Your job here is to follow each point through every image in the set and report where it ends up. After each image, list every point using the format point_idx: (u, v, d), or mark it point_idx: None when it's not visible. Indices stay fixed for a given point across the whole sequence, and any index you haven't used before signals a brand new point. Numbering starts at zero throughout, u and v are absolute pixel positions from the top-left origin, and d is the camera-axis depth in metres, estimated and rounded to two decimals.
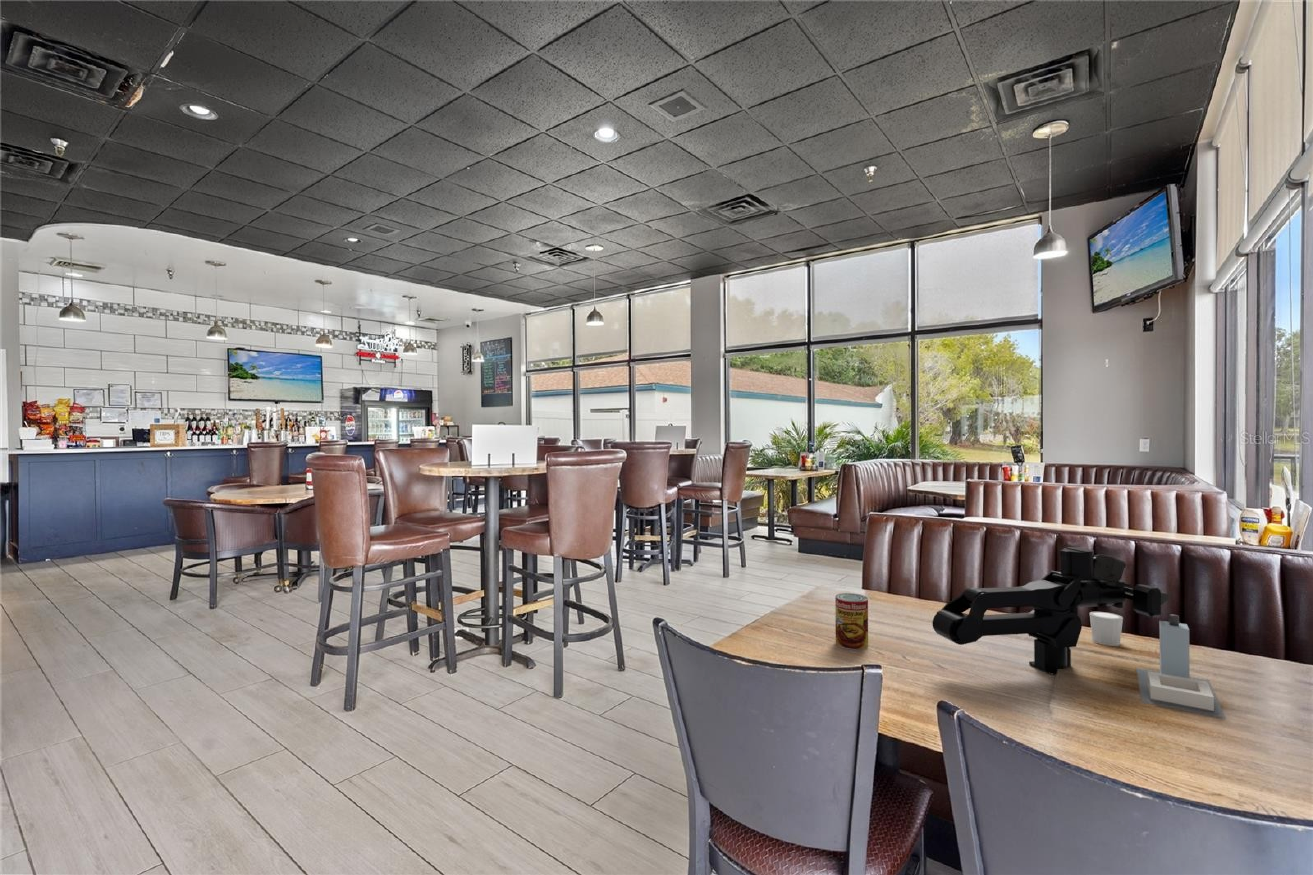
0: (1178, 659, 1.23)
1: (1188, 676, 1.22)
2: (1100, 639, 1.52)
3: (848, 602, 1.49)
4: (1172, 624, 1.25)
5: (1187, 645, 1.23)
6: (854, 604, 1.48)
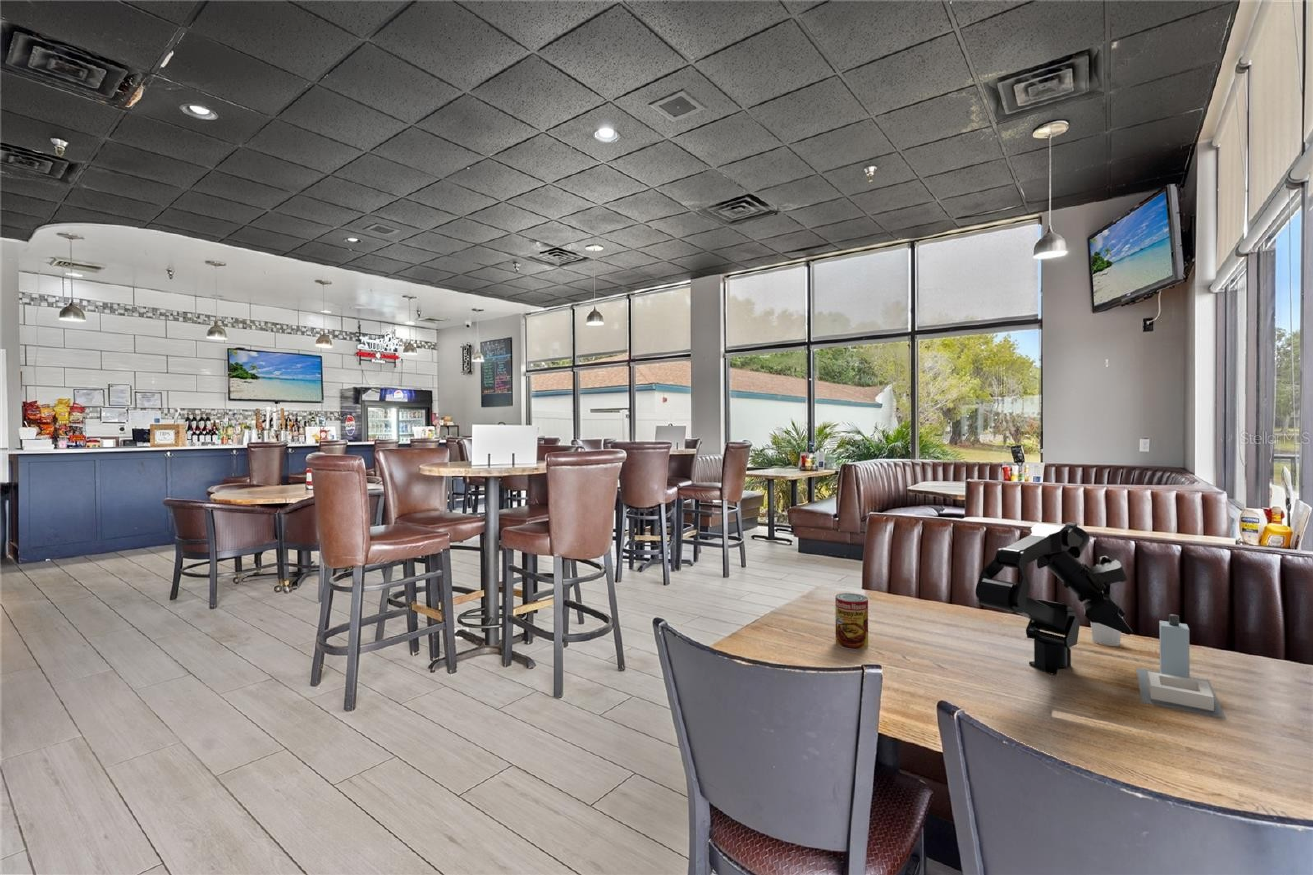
0: (1178, 659, 1.23)
1: (1188, 676, 1.22)
2: (1100, 639, 1.52)
3: (848, 602, 1.49)
4: (1172, 624, 1.25)
5: (1187, 645, 1.23)
6: (854, 604, 1.48)
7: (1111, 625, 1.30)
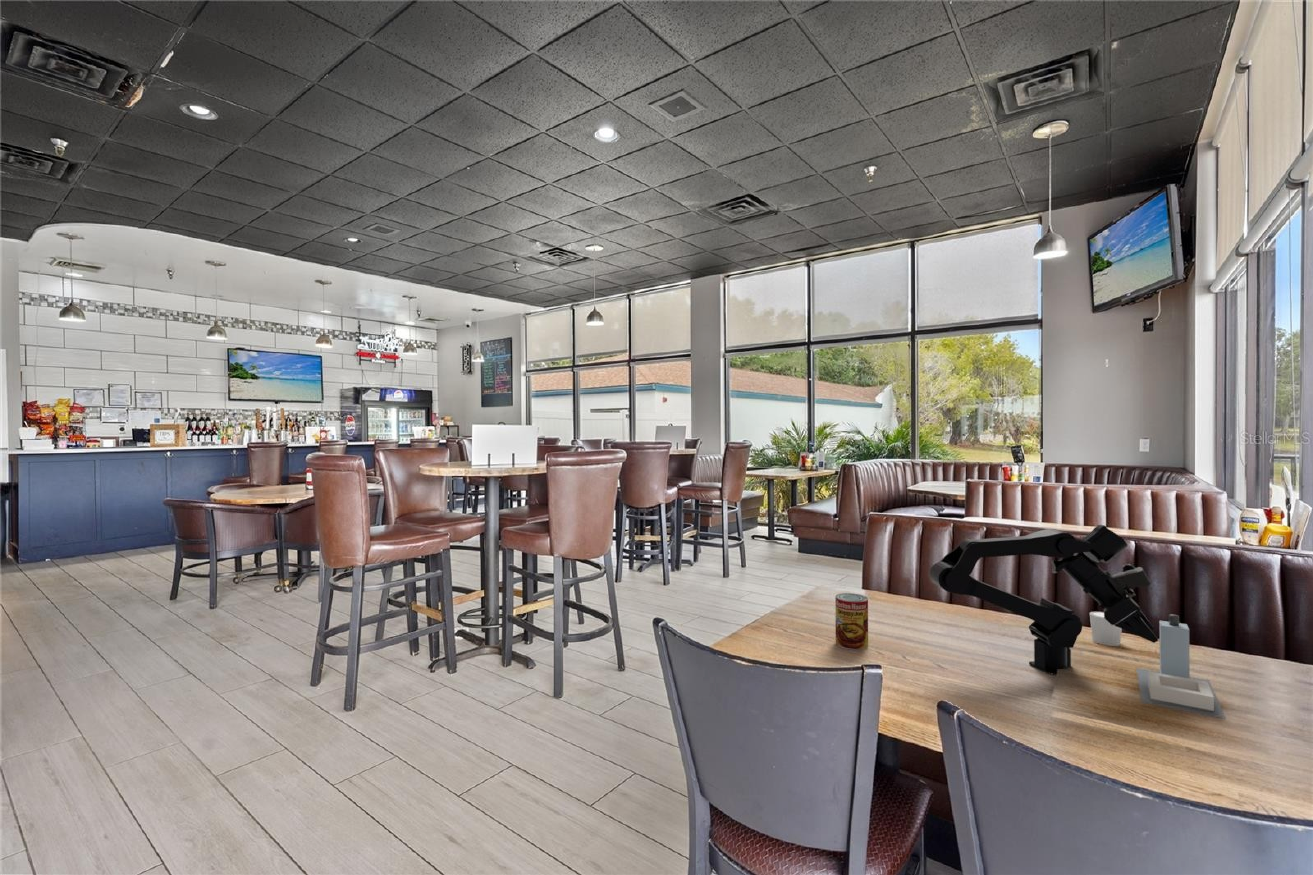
0: (1178, 659, 1.23)
1: (1188, 676, 1.22)
2: (1100, 639, 1.52)
3: (848, 602, 1.49)
4: (1172, 624, 1.25)
5: (1187, 645, 1.23)
6: (854, 604, 1.48)
7: (1134, 631, 1.25)
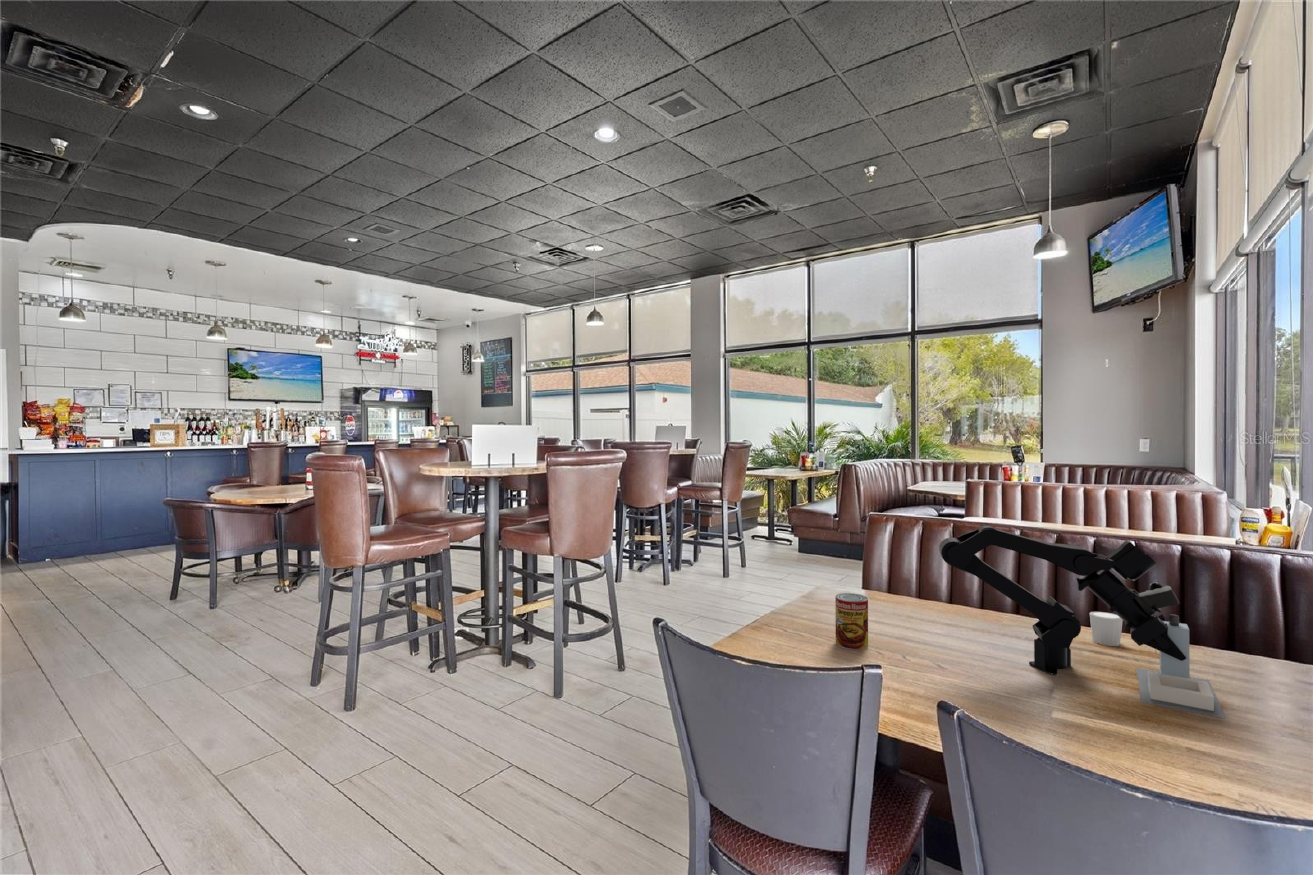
0: None
1: (1188, 676, 1.22)
2: (1100, 639, 1.52)
3: (848, 602, 1.49)
4: (1172, 624, 1.25)
5: (1187, 645, 1.23)
6: (854, 604, 1.48)
7: (1161, 648, 1.24)
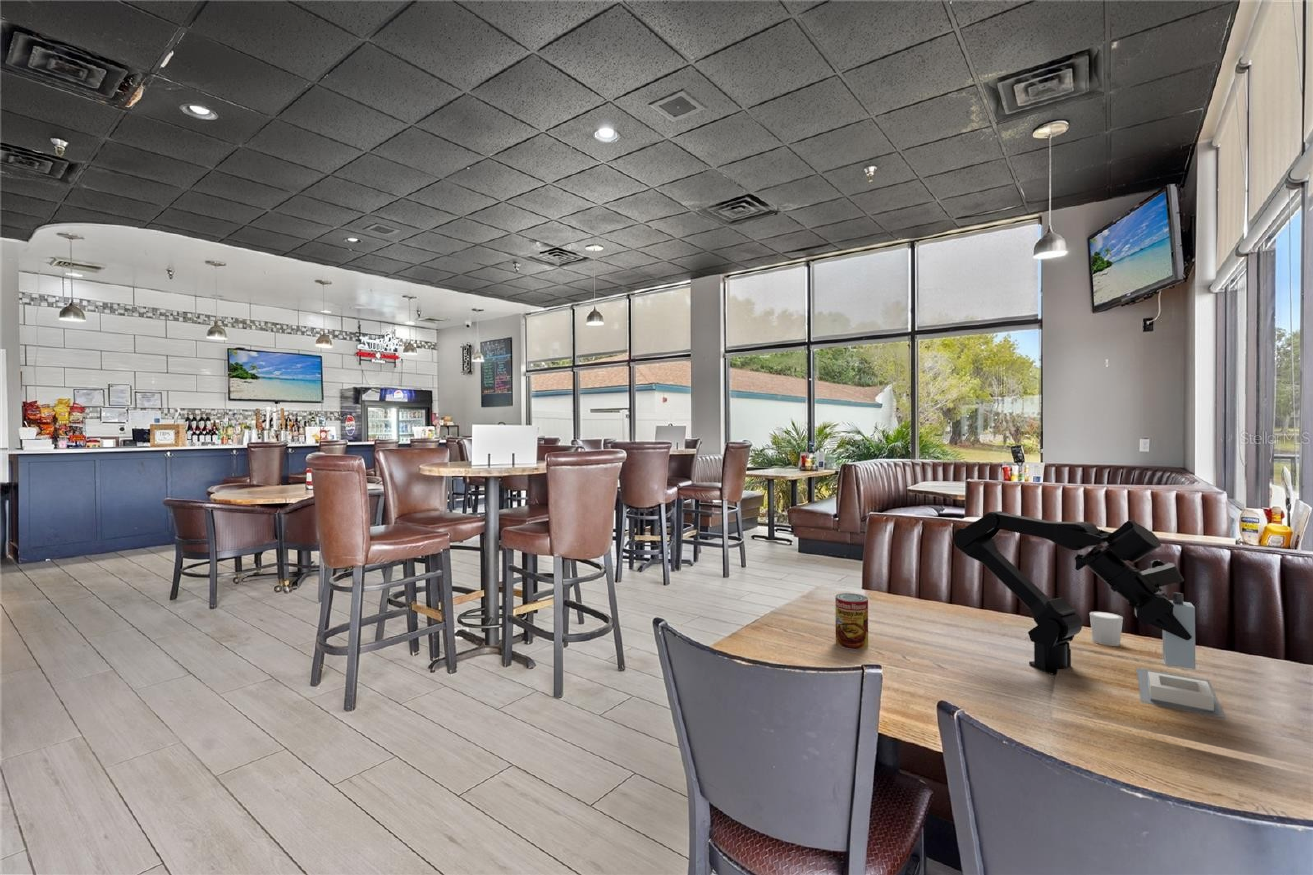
0: (1183, 639, 1.18)
1: (1194, 656, 1.17)
2: (1100, 639, 1.52)
3: (848, 602, 1.49)
4: (1176, 602, 1.20)
5: (1193, 624, 1.17)
6: (854, 604, 1.48)
7: (1166, 628, 1.18)
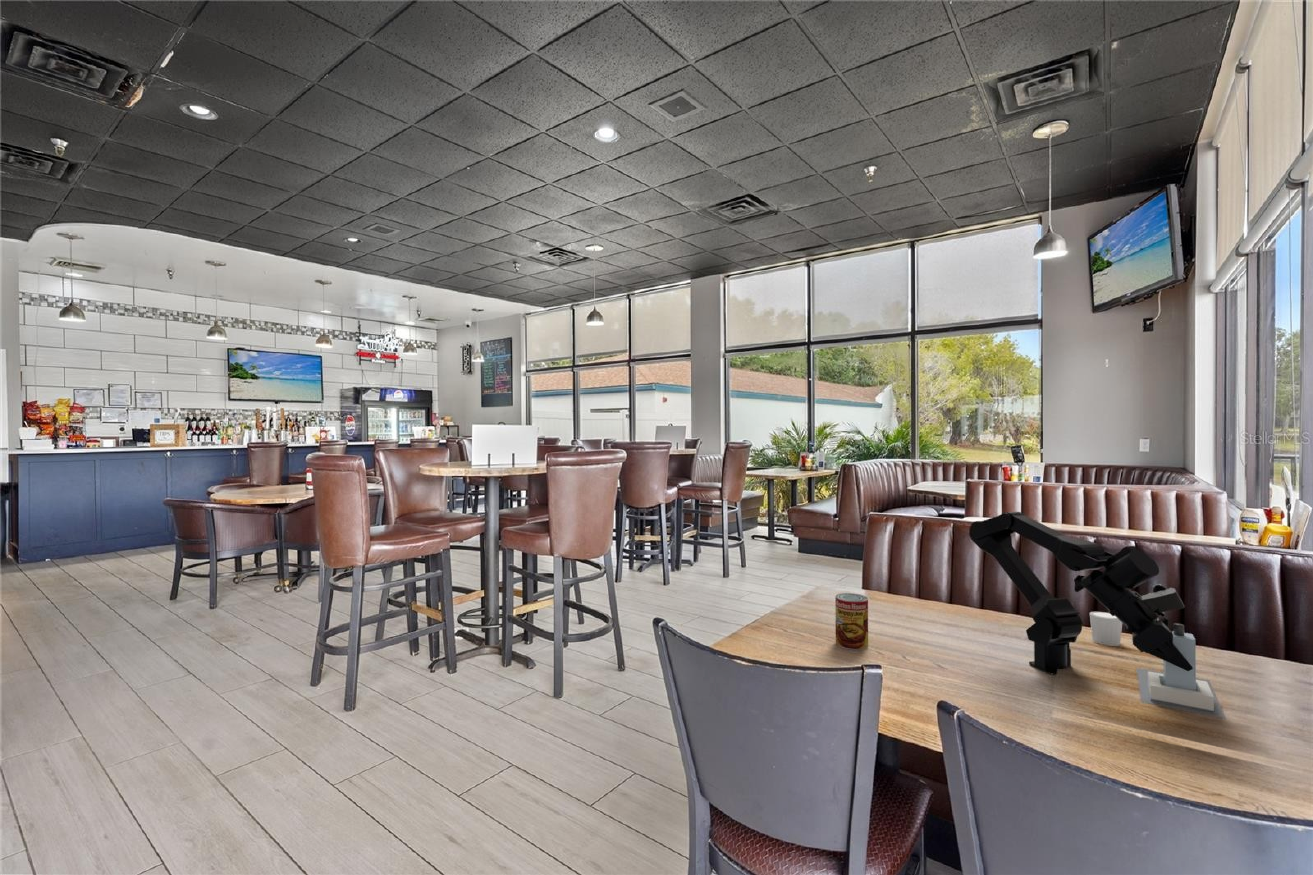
0: (1183, 672, 1.15)
1: (1194, 690, 1.14)
2: (1100, 639, 1.52)
3: (848, 602, 1.49)
4: (1177, 634, 1.17)
5: (1193, 657, 1.15)
6: (854, 604, 1.48)
7: (1166, 658, 1.14)
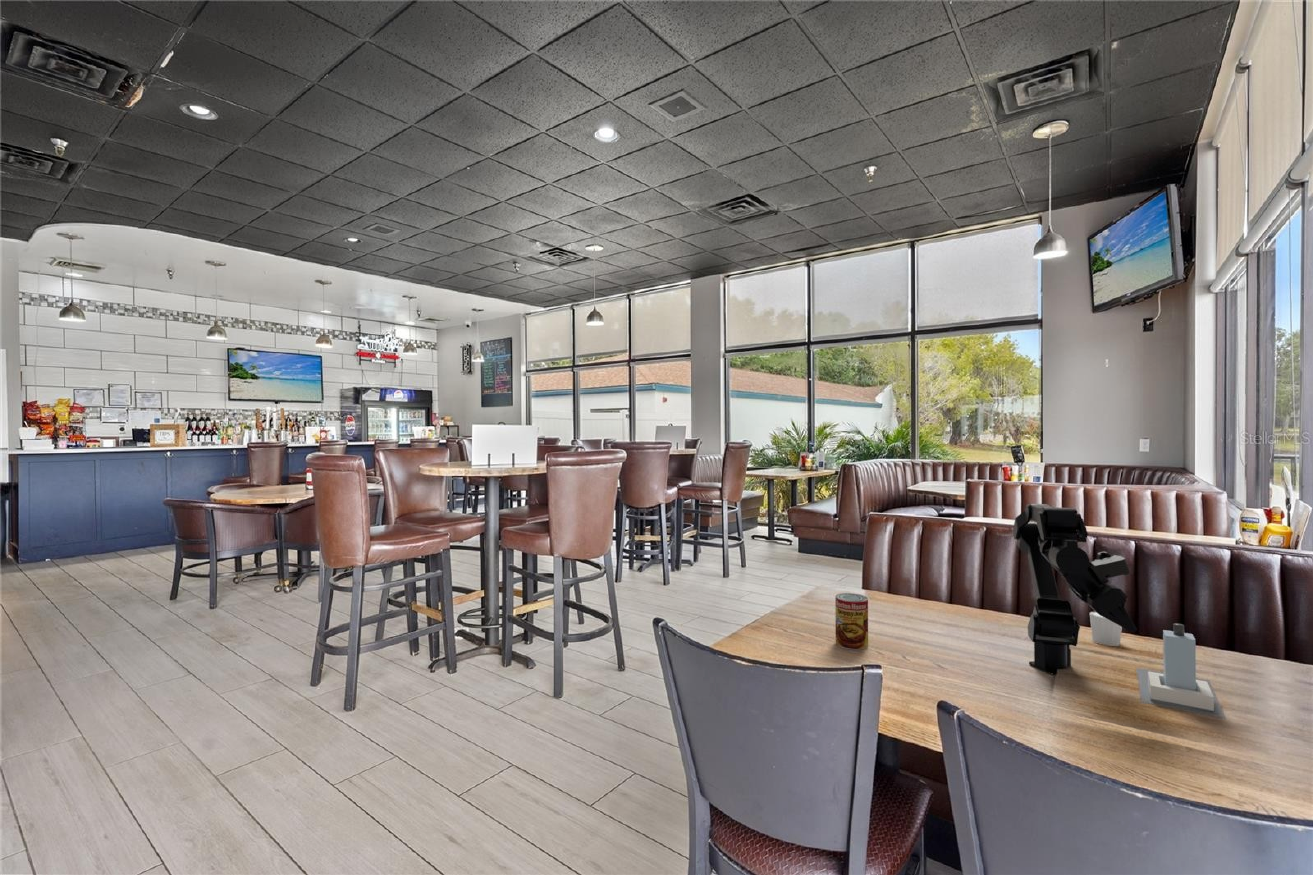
0: (1183, 672, 1.15)
1: (1194, 690, 1.14)
2: (1100, 639, 1.52)
3: (848, 602, 1.49)
4: (1177, 634, 1.17)
5: (1193, 657, 1.15)
6: (854, 604, 1.48)
7: (1116, 620, 1.21)
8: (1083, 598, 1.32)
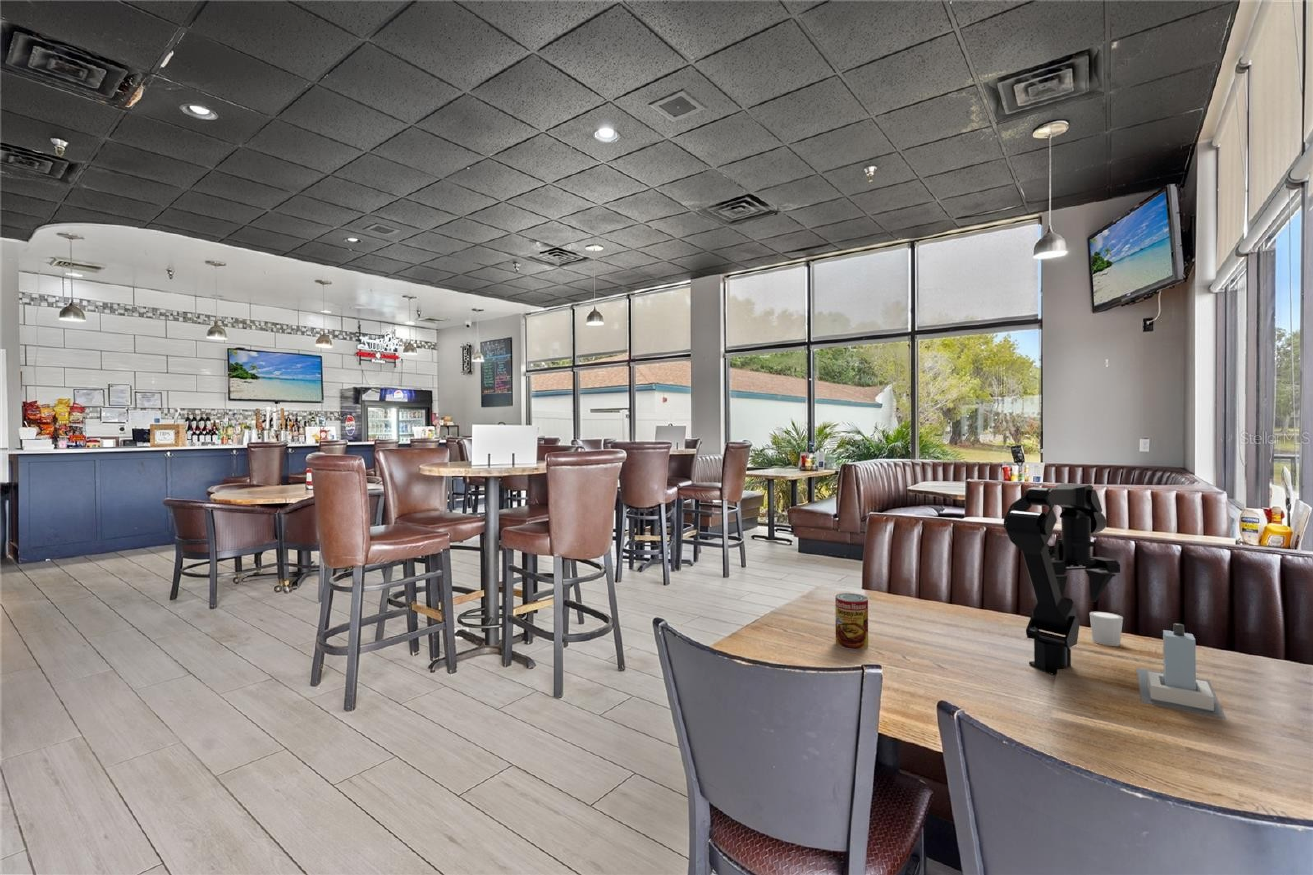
0: (1183, 672, 1.15)
1: (1194, 690, 1.14)
2: (1100, 639, 1.52)
3: (848, 602, 1.49)
4: (1177, 634, 1.17)
5: (1193, 657, 1.15)
6: (854, 604, 1.48)
7: None
8: None
